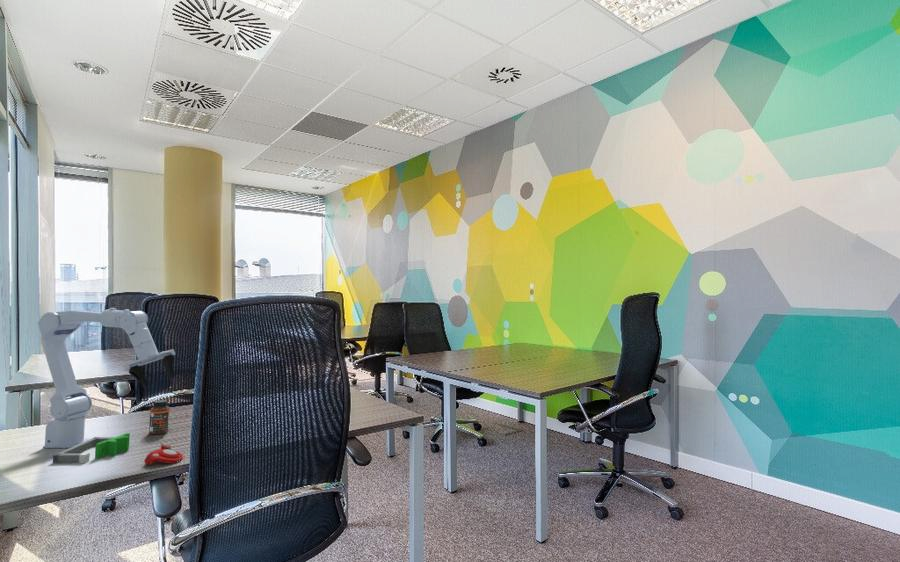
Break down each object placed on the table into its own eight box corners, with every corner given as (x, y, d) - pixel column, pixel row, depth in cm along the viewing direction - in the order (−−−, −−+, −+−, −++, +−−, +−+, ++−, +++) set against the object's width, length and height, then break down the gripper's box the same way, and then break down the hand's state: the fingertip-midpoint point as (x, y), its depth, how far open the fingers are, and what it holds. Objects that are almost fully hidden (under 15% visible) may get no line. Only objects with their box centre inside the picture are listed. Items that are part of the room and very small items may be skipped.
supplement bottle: (150, 436, 156) (152, 403, 157) (147, 432, 160) (148, 400, 161) (170, 432, 160) (171, 401, 161) (166, 428, 165) (168, 398, 165)
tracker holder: (191, 456, 135) (158, 457, 127) (185, 470, 135) (151, 473, 126) (171, 439, 142) (138, 440, 133) (165, 453, 141) (132, 455, 133)
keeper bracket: (52, 463, 130) (52, 455, 130) (94, 443, 147) (95, 436, 147) (84, 462, 130) (85, 455, 131) (123, 443, 148) (123, 436, 148)
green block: (105, 460, 134) (106, 444, 134) (94, 459, 134) (95, 444, 134) (136, 447, 145) (136, 433, 145) (126, 446, 145) (126, 432, 145)
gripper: (121, 348, 137) (138, 388, 137) (171, 334, 149) (186, 371, 148) (115, 354, 142) (131, 393, 141) (164, 340, 153) (179, 376, 152)
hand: (159, 382), depth 145 cm, fingers open, 7 cm apart
